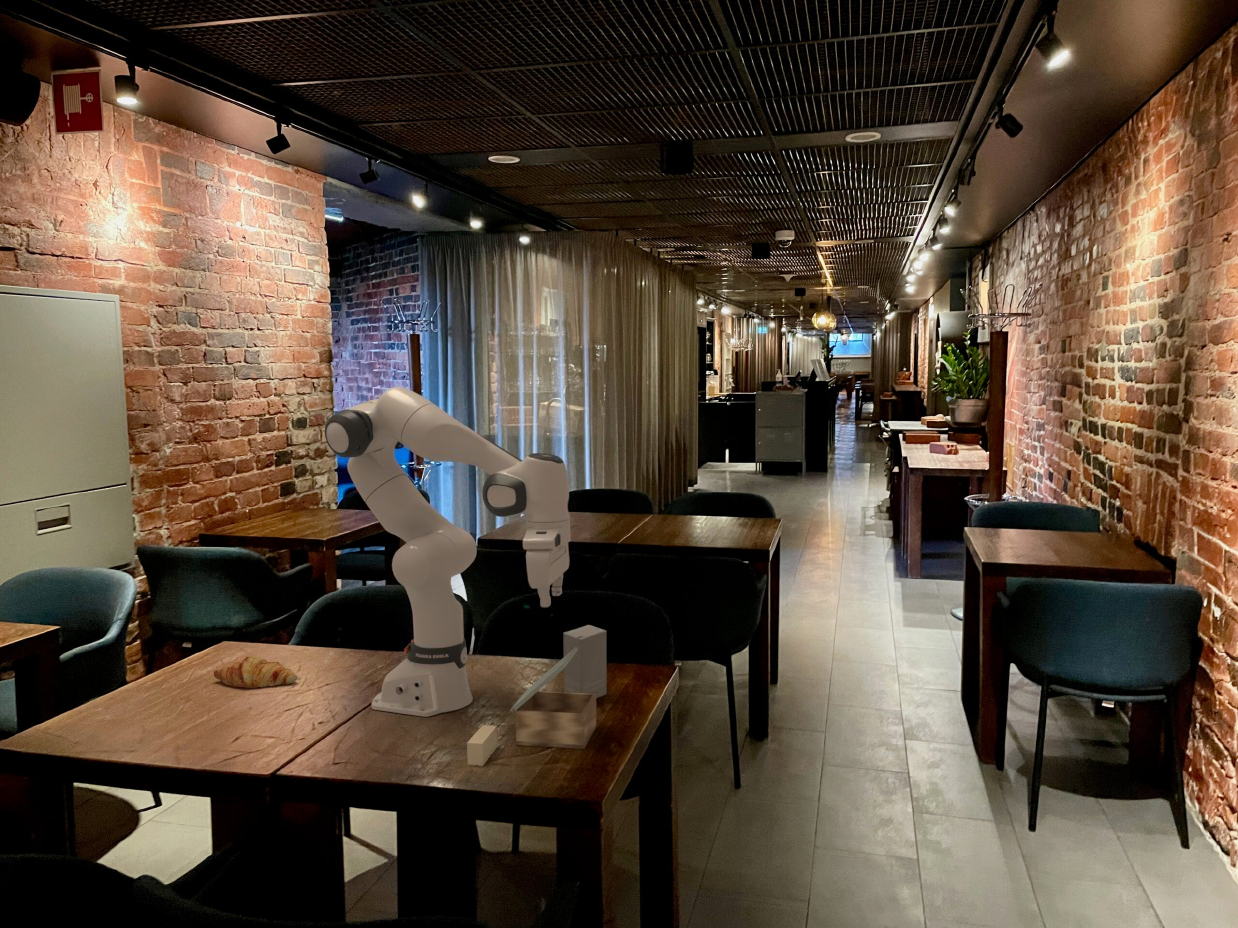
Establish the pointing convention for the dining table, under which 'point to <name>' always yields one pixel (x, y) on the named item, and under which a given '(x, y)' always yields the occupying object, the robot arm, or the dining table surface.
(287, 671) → the croissant
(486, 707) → the dining table surface
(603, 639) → the skincare box
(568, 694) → the crate
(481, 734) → the tan rectangular block
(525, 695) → the lid
